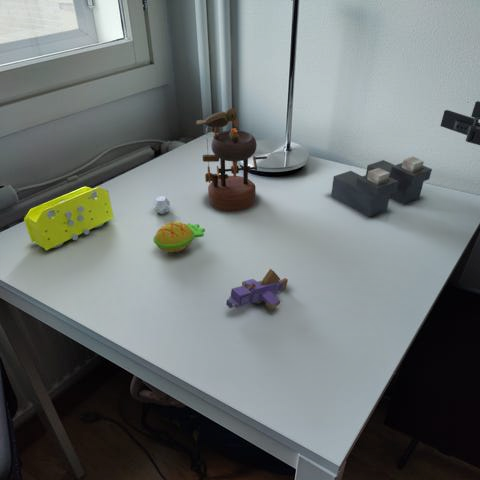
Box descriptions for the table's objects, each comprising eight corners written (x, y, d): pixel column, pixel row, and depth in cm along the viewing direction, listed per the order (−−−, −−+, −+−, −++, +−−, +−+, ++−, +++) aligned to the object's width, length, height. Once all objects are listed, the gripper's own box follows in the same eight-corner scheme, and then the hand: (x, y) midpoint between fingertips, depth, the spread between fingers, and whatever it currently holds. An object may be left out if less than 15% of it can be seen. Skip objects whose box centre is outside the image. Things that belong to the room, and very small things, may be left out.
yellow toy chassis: (48, 255, 87) (35, 215, 82) (32, 244, 90) (18, 205, 84) (115, 222, 96) (108, 184, 91) (99, 213, 99) (90, 176, 94)
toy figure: (243, 334, 73) (244, 313, 68) (214, 301, 77) (213, 279, 72) (301, 301, 77) (305, 279, 73) (270, 271, 81) (273, 249, 77)
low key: (421, 170, 99) (424, 161, 98) (412, 173, 98) (414, 164, 96) (410, 165, 101) (412, 156, 99) (401, 168, 100) (403, 159, 98)
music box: (209, 217, 98) (201, 116, 86) (197, 198, 106) (188, 104, 94) (276, 205, 101) (277, 107, 89) (259, 188, 110) (258, 96, 98)
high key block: (391, 212, 99) (398, 181, 94) (371, 219, 96) (377, 188, 92) (348, 189, 107) (353, 160, 102) (329, 196, 104) (333, 166, 100)
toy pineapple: (149, 247, 89) (145, 222, 85) (193, 231, 93) (191, 207, 90) (165, 264, 85) (162, 238, 81) (212, 246, 89) (210, 222, 85)
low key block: (423, 199, 103) (432, 169, 98) (405, 206, 101) (413, 175, 96) (380, 178, 111) (386, 149, 106) (362, 184, 109) (368, 155, 104)
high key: (387, 182, 95) (389, 172, 93) (377, 186, 93) (379, 176, 92) (376, 177, 97) (378, 167, 95) (366, 180, 95) (368, 171, 94)
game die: (157, 206, 101) (156, 194, 99) (173, 208, 101) (172, 196, 99) (151, 214, 99) (149, 201, 97) (167, 216, 98) (165, 203, 96)
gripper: (534, 192, 70) (416, 145, 84) (605, 160, 78) (487, 123, 93) (557, 142, 65) (426, 102, 79) (630, 114, 73) (501, 82, 88)
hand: (459, 113), depth 86 cm, fingers open, 8 cm apart
